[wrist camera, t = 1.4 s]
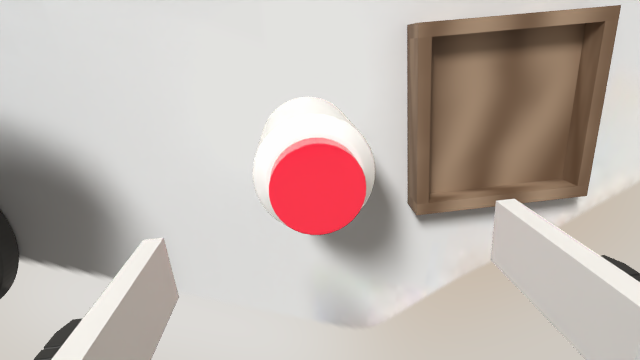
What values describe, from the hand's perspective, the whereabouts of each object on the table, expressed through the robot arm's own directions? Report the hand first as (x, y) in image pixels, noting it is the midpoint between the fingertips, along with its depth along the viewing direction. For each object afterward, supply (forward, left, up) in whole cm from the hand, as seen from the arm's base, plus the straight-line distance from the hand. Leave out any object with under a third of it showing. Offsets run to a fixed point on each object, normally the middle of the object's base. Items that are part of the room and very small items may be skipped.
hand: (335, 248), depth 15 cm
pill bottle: (0, 0, -17) cm, 17 cm away
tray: (+16, +1, -17) cm, 23 cm away
